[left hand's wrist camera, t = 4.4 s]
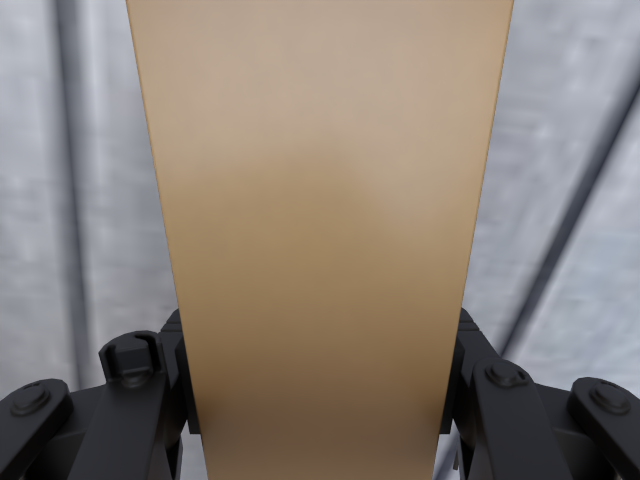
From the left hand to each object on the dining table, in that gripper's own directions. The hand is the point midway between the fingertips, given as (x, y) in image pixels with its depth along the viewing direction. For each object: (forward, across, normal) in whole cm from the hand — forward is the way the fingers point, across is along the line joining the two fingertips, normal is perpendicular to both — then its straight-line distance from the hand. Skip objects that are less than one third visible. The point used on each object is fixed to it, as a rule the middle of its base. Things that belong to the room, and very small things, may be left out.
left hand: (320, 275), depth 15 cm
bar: (0, 0, -10) cm, 11 cm away
